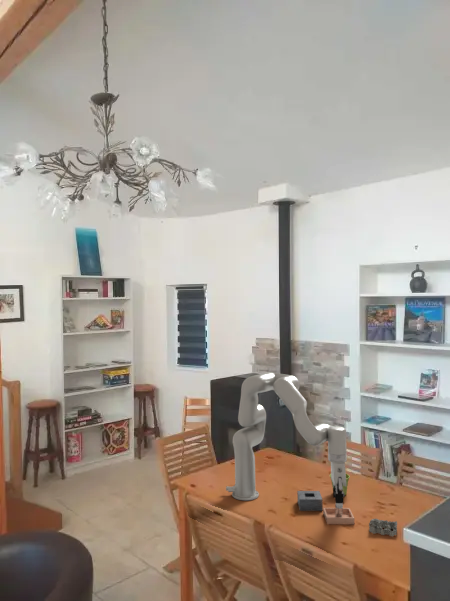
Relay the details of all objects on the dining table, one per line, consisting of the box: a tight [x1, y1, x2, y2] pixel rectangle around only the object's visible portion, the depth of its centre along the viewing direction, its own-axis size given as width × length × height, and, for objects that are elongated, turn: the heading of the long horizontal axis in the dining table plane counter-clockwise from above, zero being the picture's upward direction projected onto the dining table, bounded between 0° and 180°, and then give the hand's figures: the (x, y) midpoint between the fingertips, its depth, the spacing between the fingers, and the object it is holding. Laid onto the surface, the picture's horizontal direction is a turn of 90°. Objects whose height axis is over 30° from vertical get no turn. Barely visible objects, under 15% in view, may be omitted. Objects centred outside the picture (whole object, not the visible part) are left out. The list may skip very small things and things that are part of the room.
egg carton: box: [368, 518, 398, 537], centre depth 197 cm, size 11×8×4 cm
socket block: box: [296, 490, 324, 512], centre depth 223 cm, size 10×10×5 cm
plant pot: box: [329, 473, 351, 496], centre depth 237 cm, size 9×9×9 cm
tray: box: [322, 507, 356, 525], centre depth 209 cm, size 11×10×2 cm
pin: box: [334, 491, 345, 517], centre depth 209 cm, size 4×4×10 cm
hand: (338, 499), depth 209 cm, fingers open, 5 cm apart
